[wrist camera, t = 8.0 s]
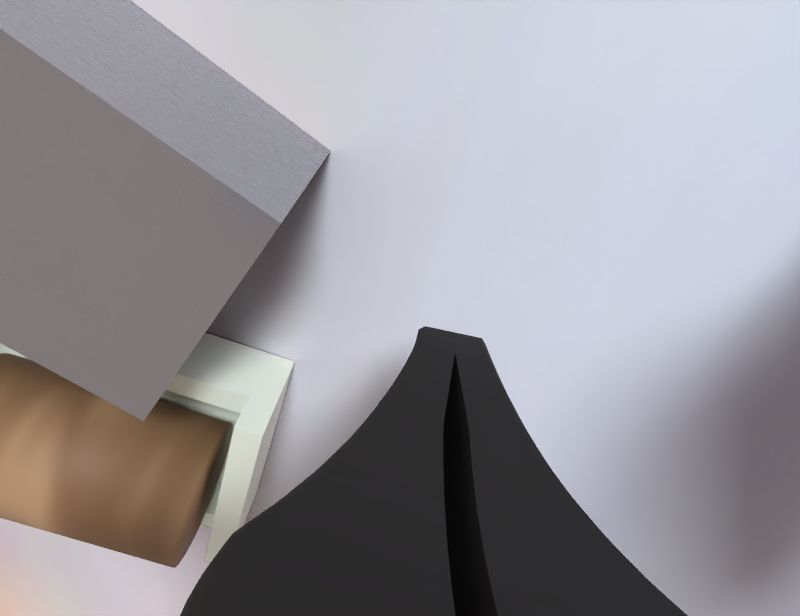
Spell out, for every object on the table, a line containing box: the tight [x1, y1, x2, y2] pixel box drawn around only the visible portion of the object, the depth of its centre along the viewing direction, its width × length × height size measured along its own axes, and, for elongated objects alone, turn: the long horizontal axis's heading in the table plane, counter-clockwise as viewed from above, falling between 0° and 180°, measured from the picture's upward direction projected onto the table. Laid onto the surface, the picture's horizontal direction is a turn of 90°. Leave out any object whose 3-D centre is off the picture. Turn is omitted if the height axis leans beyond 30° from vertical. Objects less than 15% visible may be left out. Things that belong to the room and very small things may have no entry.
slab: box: [0, 0, 330, 421], centre depth 13 cm, size 8×7×4 cm
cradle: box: [0, 333, 294, 562], centre depth 18 cm, size 10×7×3 cm
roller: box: [0, 353, 233, 568], centre depth 17 cm, size 7×4×4 cm, turn 72°
